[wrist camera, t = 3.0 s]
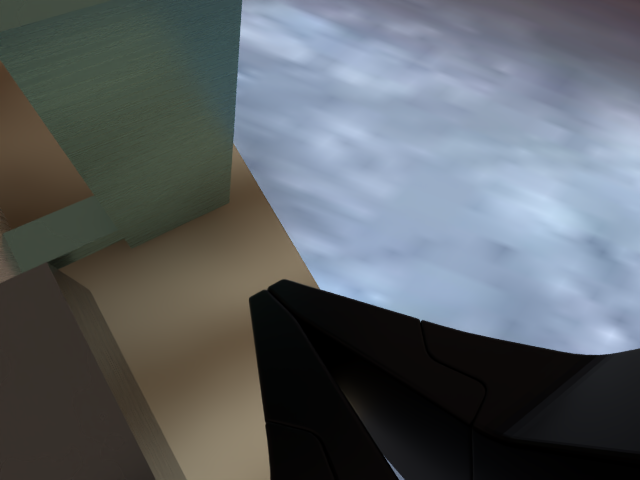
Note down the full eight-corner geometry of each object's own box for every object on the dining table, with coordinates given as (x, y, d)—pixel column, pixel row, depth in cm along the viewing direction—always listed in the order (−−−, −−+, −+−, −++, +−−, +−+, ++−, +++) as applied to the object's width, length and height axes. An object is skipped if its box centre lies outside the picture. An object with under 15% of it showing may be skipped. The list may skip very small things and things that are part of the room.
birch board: (383, 406, 18) (390, 407, 17) (32, 660, 14) (21, 677, 13) (129, -22, 21) (126, -37, 20) (-223, 72, 17) (-243, 58, 16)
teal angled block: (333, 383, 17) (523, 397, 6) (85, 550, 14) (-334, 1102, 3) (170, 101, 18) (108, -248, 8) (-81, 194, 15) (-687, -171, 5)
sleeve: (200, 507, 15) (194, 556, 11) (73, 597, 14) (12, 691, 9) (89, 290, 16) (46, 261, 12) (-38, 352, 15) (-135, 343, 11)
